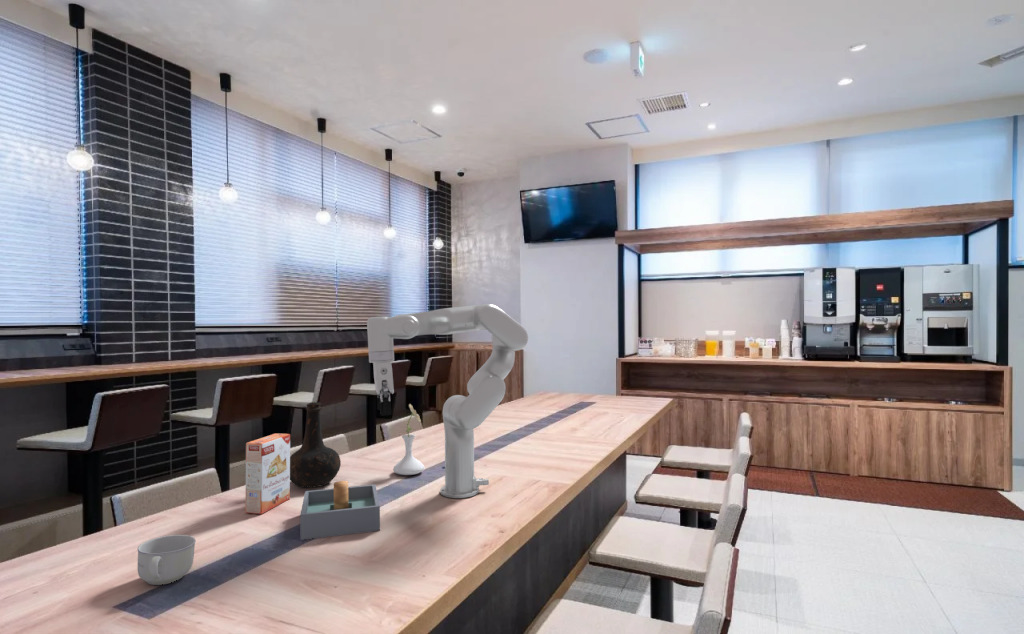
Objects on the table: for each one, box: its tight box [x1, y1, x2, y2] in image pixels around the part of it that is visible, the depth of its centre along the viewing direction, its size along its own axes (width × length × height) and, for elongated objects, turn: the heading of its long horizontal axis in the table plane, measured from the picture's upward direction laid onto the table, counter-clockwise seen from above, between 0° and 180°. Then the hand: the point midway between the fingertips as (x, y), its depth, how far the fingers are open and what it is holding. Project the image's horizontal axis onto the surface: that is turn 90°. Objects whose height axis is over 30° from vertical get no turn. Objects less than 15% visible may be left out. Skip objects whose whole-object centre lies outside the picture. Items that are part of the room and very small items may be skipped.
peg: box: [333, 480, 349, 510], centre depth 155 cm, size 4×4×10 cm
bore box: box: [299, 484, 381, 541], centre depth 152 cm, size 20×20×6 cm
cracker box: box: [245, 433, 291, 515], centre depth 165 cm, size 14×6×21 cm, turn 168°
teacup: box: [137, 534, 196, 586], centre depth 118 cm, size 14×11×8 cm
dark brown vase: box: [290, 402, 342, 489], centre depth 186 cm, size 18×18×28 cm
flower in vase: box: [392, 403, 425, 476], centre depth 199 cm, size 13×11×25 cm
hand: (384, 412), depth 166 cm, fingers open, 9 cm apart
